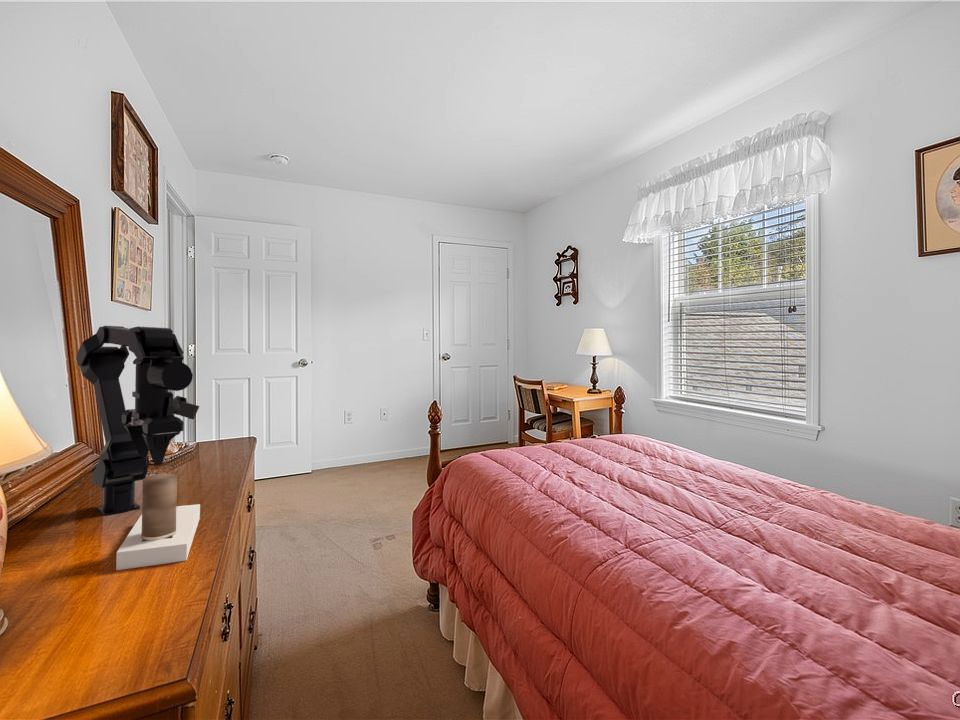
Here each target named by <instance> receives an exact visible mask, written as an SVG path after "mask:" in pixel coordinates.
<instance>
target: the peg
mask: <svg viewBox="0 0 960 720" xmlns="http://www.w3.org/2000/svg"><path fill="white" fill-rule="evenodd" d="M177 488H178V475H177V474H171V473H164V474H163V473H162V474H160V473H159V474H153V475H149V476H146V478H144V479H143V480H142V495H141V496H142V500H141V514H142V534H141V539H143V540H147V541H155V540H161V539H167V538H169V537H171V536H173V535H175V534H176V506H178V505H177V504H178V503H177V499H178V496H177V494H178V493H177V492H178V489H177Z"/></svg>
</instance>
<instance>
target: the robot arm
mask: <svg viewBox="0 0 960 720" xmlns="http://www.w3.org/2000/svg"><path fill="white" fill-rule="evenodd" d="M173 332H174V331H173V330H172V329H171V328H170V327H155V326H154V327H153V326H135V327H130V328H129V327H125V326H119V325H103V326H99V327H98V329H97V331H96V333H95V334H93V335H91V336H90V337H88V338H86V339H85V340H83V341H82V342H81V345H80V347H79V349H78V351H77V352H76V359H75V360H76V364H77V366H79V368H80V371H81V375H82V376H83V377H84V378H85V379H86V380H88V382H89V383H91V384H92V385H93V388H94V393H95V398H96V402H97V407H98V408H97V409H98V413H99V417H100V422H101V427H102V432H103V436H104V442H105V443H104V446H103V447H102V450H101V451H100V453H99V456H98V463H97V465H96V467H95V469H94V470H93V472H92V474H91V478H92V479H91V480H92V485H93V486H96V487H98V488H100V489H102V491H103V493H102V498H103V499H102V501H103V502H102V505H98V506H97V509H98V510H99V512H101V513H102V514H103V515H104V516H110V515H114V514H120V513H124V512H126V513H127V512H130V511H134V510H139V509H141V505H140V504H138V503H137V502H136V482H137V481H143V479H144V478H146V477H147V474H148V468H149V465H150V459H149V456H148V454H149V455H150V458H151V459H152V461H153V464H154V466H156V467H157V466H161V465H163V462H164V459H165V456H166V453H167V449H168V447H169V445H170V442H171V441H172V440H173V439H174V438H175V437H176V436H179V435H180V434H181V432H183V431H184V425H185V424H184V423H185V422H184V420H183V419H181V418H180V417H184V418H187V419H188V420H189V419H190V420H195V418H196V415H197V413H198V411H199V408H200V405H196V404H194V403H189V402H188V400H187V397H183V396H180V395H176V396H175V397H174V393H173V392H172V391H174V392H175V391H176V392H178V391H182V390H185V389H187V388H188V387H189V386H190V384H192V381H193V377H194V375H193V371H192V370H191V368H190V366H189V365H188V364H186V363H184V362H183V360H184V351H183V349H182V347H181V345H180V342H179V341H178V338H177V336H176V334H175V333H173ZM104 344H112V345H119V347H118V346H104ZM129 351H130V352H131V353H132V354H133V355H134V356H135V357H136V358H135V359H134V360H133V361H132V364H133V365H135V381H134V382H135V390H134V391H132V397H133V398H134V408H131V409H126V404H125V400H124V396H123V392H122V388H121V387H122V386H121V381H120V377H121V375H122V373H123V371H124V369H125V367H126V366H125V363H126V361H127V359H128V358H129V356H130V352H129ZM175 415H176V416H175ZM178 416H180V417H178Z"/></svg>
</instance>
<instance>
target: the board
mask: <svg viewBox="0 0 960 720" xmlns="http://www.w3.org/2000/svg"><path fill="white" fill-rule="evenodd" d="M200 519H201V504H200V503H198V504H197V503H196V504H189V505H179V506H178V505H177V506H176V534H175V535H173V536H171V537H169V538H167V539H161V540H155V541H147V540H143V539H141V534H142V513H141V515H140V516H139V517H138V519H137V521H136V522H135V524H134V525H133V527H132V528H131V530H130V531H129V533H128V534H127V536H126V538H125V539H124V541H123V542H122V544H121V545H120V546H119V548H118V549H117V551H116V561H115V562H116V564H115V566H116V567H115V568H116V571H120V570H121V571H122V570H127V569H128V570H129V569H135V568H143V567H148V566H149V567H150V566H151V567H152V566H157V565H164V564H170V563H171V564H173V563H179V562H185V561H187V560H188V556H189V553H190V550H191V548H192V547H191V546H192V545H193V540H194V537H195V534H196V532H197V528H198V525H199V521H200Z"/></svg>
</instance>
